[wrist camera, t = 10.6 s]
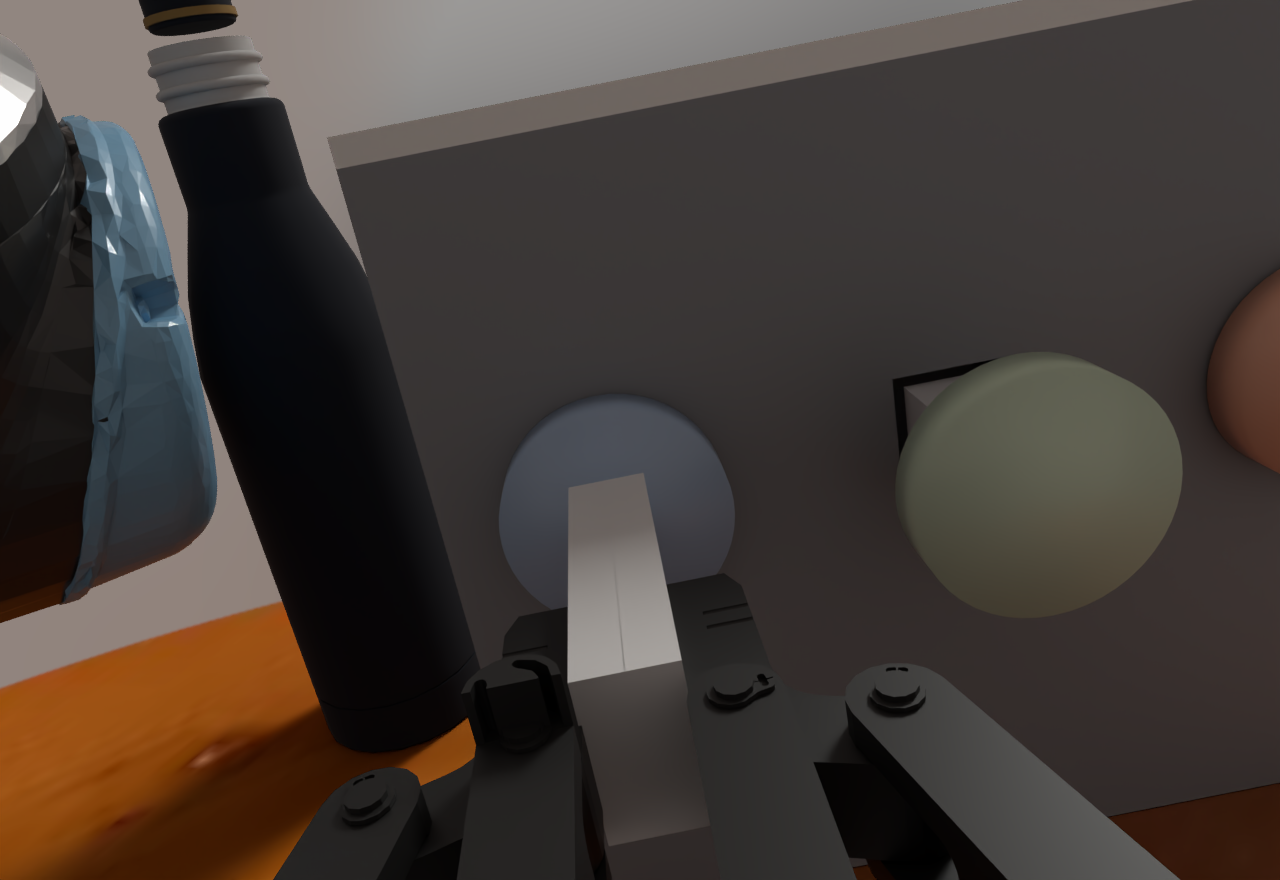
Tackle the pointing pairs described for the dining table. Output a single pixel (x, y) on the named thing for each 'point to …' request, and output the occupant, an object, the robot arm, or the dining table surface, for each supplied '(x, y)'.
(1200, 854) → the dining table surface
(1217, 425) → the terracotta button
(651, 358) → the control panel
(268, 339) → the wine bottle
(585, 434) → the slate button
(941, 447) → the sage button
